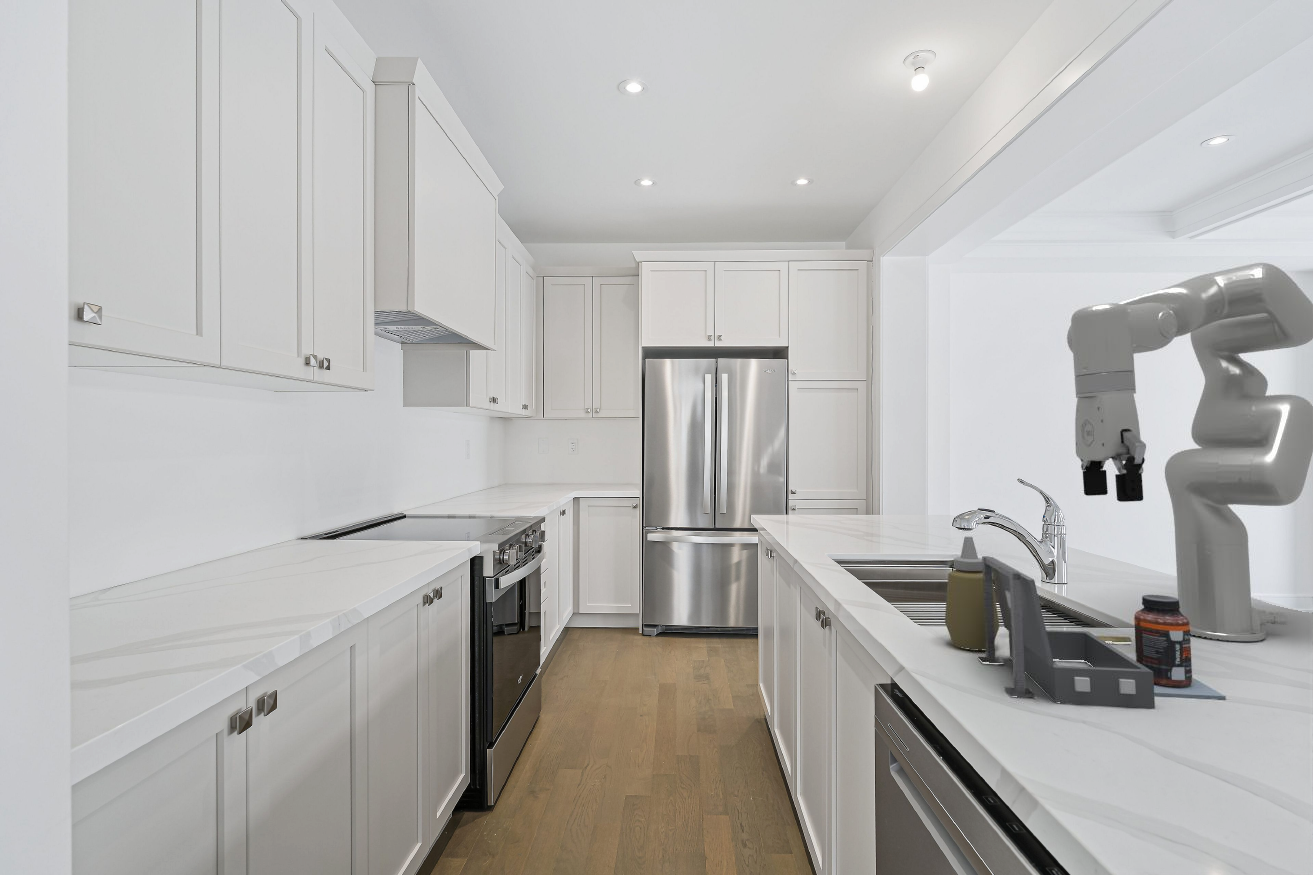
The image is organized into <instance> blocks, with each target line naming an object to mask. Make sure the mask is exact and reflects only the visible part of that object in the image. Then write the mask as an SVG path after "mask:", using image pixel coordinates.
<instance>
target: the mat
mask: <svg viewBox="0 0 1313 875" xmlns="http://www.w3.org/2000/svg"><path fill="white" fill-rule="evenodd" d="M1154 697H1171V698H1172V697H1173V698H1186V699H1187V698H1191V699H1193V698H1194V699H1207V698H1213V700H1226V699H1227V698H1226V695H1224V694H1222V693H1220V692H1219V691H1217V690H1215V689H1214V688H1212V687H1210V686H1208V685H1206V684H1205V683H1203V682H1202V681H1199V680H1198V679H1196V678H1194V677H1193V676H1192V683H1191V684H1190V685H1188V686H1185V687H1171V686H1163V685H1158V684H1154Z"/></svg>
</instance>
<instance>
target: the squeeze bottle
mask: <svg viewBox="0 0 1313 875" xmlns="http://www.w3.org/2000/svg"><path fill="white" fill-rule="evenodd" d="M953 567H954V569H953V570H952V571H950V572H949V573H948V576H947V587H946V589H947V590H946V599H945V600H946V601H945V612H944V613H945V615H944V616H945V618H944V623H945V626H946V629H947V631H948V634H949V637H950V639H951V642H952V644H953V645H954V646H955V645H957V646H959V647H958V648H960V647H963V648H969V649H978V650H981V651H983V650H982V649H986V646H985V621H984V596H983V570H982V557H978V552H977V549H976V546H975V541H974V538H973V537H972V536H964V538H963V544H962V547H961V553H960V556H959V557H958V556H957V557H955V558H953ZM992 587H993V612H994V637H995V639H996V638H997V635H998V632H999V629H1000V623H999V616H998V615H999V613H998V609H997V608H998V607H997V601H996V600H997V599H996V594H995V585H994V580H993V579H992ZM957 646H956V647H957ZM963 648H962V649H963ZM978 650H977V651H978Z"/></svg>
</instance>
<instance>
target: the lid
mask: <svg viewBox="0 0 1313 875" xmlns="http://www.w3.org/2000/svg"><path fill="white" fill-rule="evenodd" d="M990 557H991V558H992V559H994V560H996V561H998V562H999V563H1001V564H1003V565H1005V566H1007V567H1008V568H1010V569H1012V570H1014V571H1016V572H1018V573H1020V574H1021V597H1022V621H1023V644H1024V645H1026V646H1027V647H1028V648H1029V649H1030V650H1031V651H1033V652H1034V653H1035V654H1036V655H1037V656H1038V657H1040V658H1041V659H1042V660H1043V661H1044V662H1045V663H1047V664H1048V665H1049V666H1051V665H1054V662H1055V661H1054V662H1053V657H1052V653H1051V649H1050V645H1049V640H1048V636H1047V632H1046V630H1047V628H1046V625H1045V620H1044V616H1043V612H1042V607H1041V603H1040V602H1041V601H1040V599H1039V598H1040V597H1039V594H1038V590H1037V586H1036V582H1035V579H1034V578H1032V577H1030V576H1028V575H1026V574H1025V573H1023V572H1021V571H1019V570H1017V569H1016V568H1014V567H1012V566H1010V565H1008V564H1006V563H1004V562H1003V561H1001V560H1000V559H998V558H995V557H994V556H990ZM992 580H993V585H994V589H995V591H996V595H997V596H996V597H997V601H998V604H999V610H1000V614H1001V618H1002V623H1003V626H1004V628H1005V629H1006V630H1007V631H1008V633H1009V632H1010V633H1012V626H1011V601H1010V577H1008V576H1006V575H1005V574H1003V573H1001V572H1000V571H998V570H996V569H995V568H993V567H992Z"/></svg>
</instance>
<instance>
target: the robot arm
mask: <svg viewBox="0 0 1313 875" xmlns="http://www.w3.org/2000/svg"><path fill="white" fill-rule="evenodd" d="M1187 334H1190V342H1191V345H1192V349H1193V352H1194V354H1195V356H1196V359H1197V362H1198V364H1199V366H1200V369H1201V371H1202V374H1203V377H1204V386H1203V390H1202V393H1201V396H1200V400H1199V401H1198V406H1197V408H1196V410H1195V413H1194V418H1193V420H1192V425H1191V428H1190V430H1191V431H1190V433H1191V438H1192V440H1193V443H1194V444H1195V445H1197V446H1198V447H1199V448H1197V447H1196V448H1190V449H1183V450H1181V451H1179V452H1178V451H1177V452H1176V453H1174V454H1172V456H1170V457H1169V458H1168V460H1167V461H1166V464H1165V466H1164V478H1165V483H1166V487H1167V489H1168V494H1169V496H1170V497H1169V498H1170V501H1171V507H1172V512H1173V513H1172V514H1173V521H1174V522H1173V524H1174V540H1175V542H1174V543H1175V563H1176V584H1177V586H1176V587H1177V599H1179V605H1180V609H1179V610H1180V612H1181V613H1182V614H1183V615H1184V616H1186V617H1187V618H1188V620H1189V624H1190V634H1191V635H1190V636H1193V635H1195V636H1194V637H1198V636H1202V637H1201V638H1204V637H1207V638H1206V639H1210V638H1212V640H1217V639H1219V641H1227V640H1228V641H1229V642H1258V641H1262V640H1265V638H1266V636H1267V634H1266V630H1265V629H1264V628H1262V627H1263V626H1265V625H1266V624H1272V625H1287V624H1288V622H1289V619H1288V615H1287V614H1286V613H1284V612H1276V611H1273V612H1272V611H1271V612H1266V611H1265V610H1260V609H1259V608H1256V607H1253V606H1252V593H1251V572H1250V554H1249V551H1250V549H1249V534H1248V533H1249V532H1248V530H1247V528H1246V525H1245V523H1244V522H1243V520H1242V519H1241V518H1240V517H1239V516H1238V515H1237V513H1236V512H1234V510H1233V509H1232V508H1231V507H1230V506H1229V505H1232V506H1233V505H1240V506H1241V505H1242V506H1259V507H1265V506H1266V507H1277V506H1278V507H1283V506H1288V505H1290V504H1293V503H1294V502H1296V501H1297V500H1298V499H1299V498H1300V496H1301V494H1302V492H1303V489H1304V488H1305V483H1306V479H1307V475H1308V472H1309V469H1310V464H1311V461H1312V457H1313V404H1311V402H1310V401H1309V400H1307V399H1306V398H1305V397H1302V396H1300V395H1296V394H1295V395H1294V394H1272V395H1271V394H1269V395H1267V391H1268V386H1269V384H1268V383H1269V382H1268V379H1267V378H1266V376H1265V375H1264V374H1263V372H1262V371H1261V370H1259V369H1258V368H1257V367H1255V366H1254V365H1253V364H1252V363H1250V362H1248V361H1246V360H1245V359H1243V358H1242V357H1241V356H1240V355H1239V354H1248V353H1257V352H1264V351H1265V352H1266V351H1273V350H1281V349H1283V350H1284V349H1291V348H1297V347H1300V346H1303V345H1306V344H1308V343H1309V342H1311V341H1312V340H1313V302H1312V300H1310V298H1309V297H1308V296H1307V295H1306V293H1304V292H1303V290H1302V289H1301V288H1300V287H1299V286H1298V284H1297V283H1296V281H1295V280H1293V279H1292V278H1291V277H1290V276H1289V275H1288V274H1287V272H1285V271H1284V270H1282V269H1281V268H1280V267H1278V266H1277V265H1274V264H1271V263H1269V262H1257V263H1256V262H1255V263H1251V264H1246V265H1242V266H1238V267H1233V268H1228V269H1223V270H1219V271H1214V272H1209V273H1205V274H1202V275H1198V276H1194V277H1192V278H1189V279H1187V280H1184V281H1181V282H1178V283H1176V284H1173V285H1170V286H1167V287H1165V288H1161V289H1158V290H1155V291H1151V292H1149V293H1146V294H1142V295H1140V296H1137V297H1135V298H1131V299H1127V300H1124V301H1121V302H1118V303H1117V302H1116V303H1113V302H1112V303H1101V304H1096V305H1095V304H1094V305H1091V306H1086V307H1081V308H1080V309H1078V310H1075V311H1074V312H1073V314H1072V316H1071V319H1070V326H1069V328H1068V330H1067V335H1066V342H1067V346H1068V348H1069V350H1070V351H1071V353H1072V354H1073V372H1074V373H1073V374H1074V388H1075V398H1076V400H1077V401H1076V407H1075V418H1074V419H1075V420H1074V426H1075V428H1074V429H1075V430H1074V432H1075V433H1074V434H1075V436H1074V437H1075V440H1074V442H1075V455H1076V457H1077V458H1078V459H1079V460H1080V462H1081V465H1080V468H1081V470H1082V480H1083V481H1082V482H1083V493H1084V496H1086V497H1090V496H1091V497H1093V496H1107V495H1108V492H1109V490H1108V476H1107V475H1108V474H1107V469H1104V466H1105V464H1106V462H1107V461H1109V460H1110V459H1111V460H1112V463H1113V465H1114V466H1115V468H1116V470H1117V473H1116V474H1114V476H1115V477H1114V478H1115V491H1116V501H1118V502H1120V503H1122V502H1123V503H1127V502H1128V503H1129V502H1143V501H1144V488H1143V486H1144V485H1143V475H1142V474H1143V473H1144V466H1143V465H1144V464H1145V461H1146V459H1145V454H1146V450H1147V444H1146V442H1144V441H1143V440H1142V439H1141V430H1140V429H1141V428H1140V421H1139V414H1138V408H1137V403H1136V400H1135V396H1134V394H1137V391H1136V389H1137V388H1136V373H1135V358H1134V356H1135V355H1134V354H1142V353H1148V352H1149V353H1150V352H1154V351H1158V350H1162V349H1163V348H1165V347H1167V346H1168V345H1169V344H1170V343H1171V342H1172V341H1173V340H1174V339H1175V338H1178V337H1181V336H1185V335H1187Z"/></svg>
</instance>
